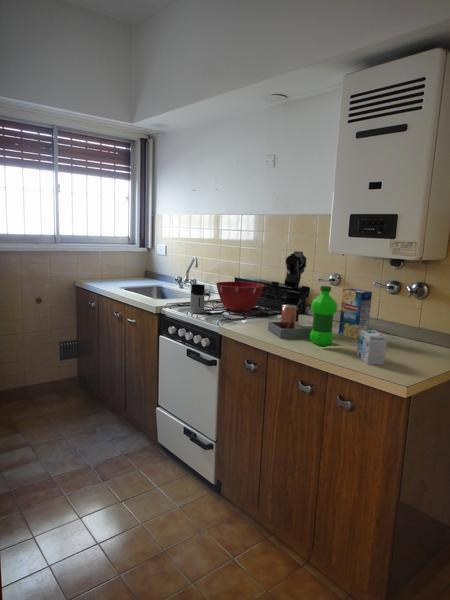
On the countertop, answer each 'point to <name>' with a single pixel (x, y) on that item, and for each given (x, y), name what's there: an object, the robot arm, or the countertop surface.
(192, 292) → the grey handled cylinder
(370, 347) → the light bulb box
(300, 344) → the countertop surface
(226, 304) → the mixing bowl
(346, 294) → the blue food box
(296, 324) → the egg carton
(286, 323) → the tin can
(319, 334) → the plastic bottle
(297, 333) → the tote
